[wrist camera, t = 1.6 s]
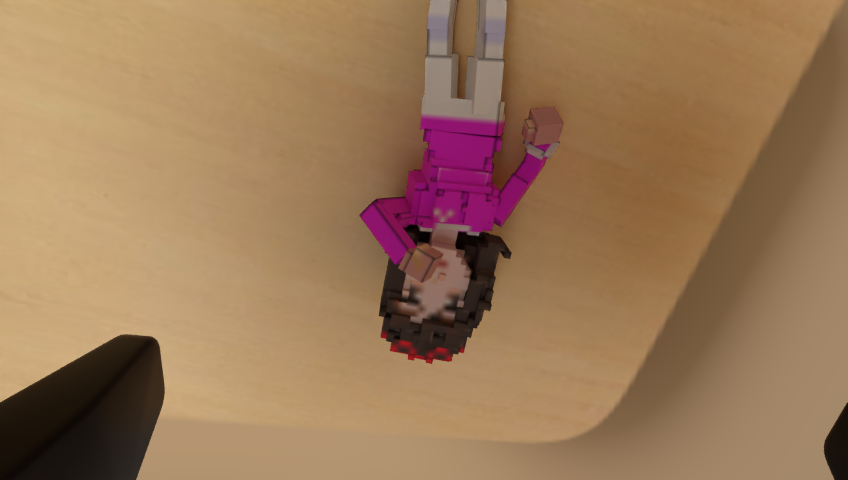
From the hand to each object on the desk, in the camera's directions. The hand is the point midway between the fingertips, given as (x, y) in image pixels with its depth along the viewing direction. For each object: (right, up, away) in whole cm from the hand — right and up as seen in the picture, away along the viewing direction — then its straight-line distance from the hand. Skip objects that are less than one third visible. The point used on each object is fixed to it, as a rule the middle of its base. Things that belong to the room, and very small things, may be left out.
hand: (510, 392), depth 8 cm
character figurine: (0, +5, +11) cm, 12 cm away
